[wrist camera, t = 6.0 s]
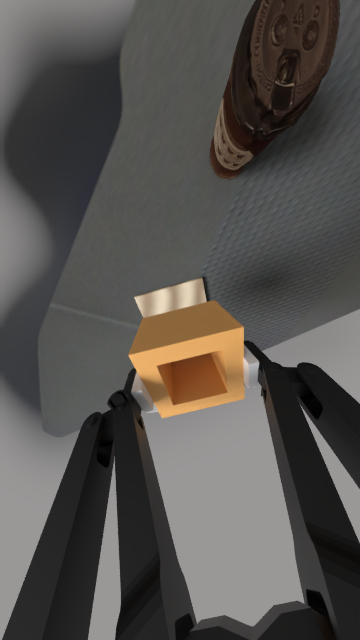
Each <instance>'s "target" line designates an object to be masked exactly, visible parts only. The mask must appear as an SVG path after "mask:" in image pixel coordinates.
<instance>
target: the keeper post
mask: <svg viewBox="0 0 360 640" xmlns="http://www.w3.org/2000/svg"><path fill="white" fill-rule="evenodd" d="M134 298H135V300H136V302H137V304H138V307H139V309H140V311H141V314H142V316H143V318H146V317H150V316H154V315H158V314H161V313H165V312H169V311H173V310H177V309H181V308H185V307H189V306H193V305H197V304H201V303H205V302H206V296H205V291H204V285H203V279H202V278H201V277H200V278H197V279H193V280H190V281H186V282H183V283H179V284H176V285H172V286H169V287H165V288H162V289H159V290H155V291H152V292H148V293H145V294H141V295H138V296H135V297H134Z"/></svg>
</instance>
